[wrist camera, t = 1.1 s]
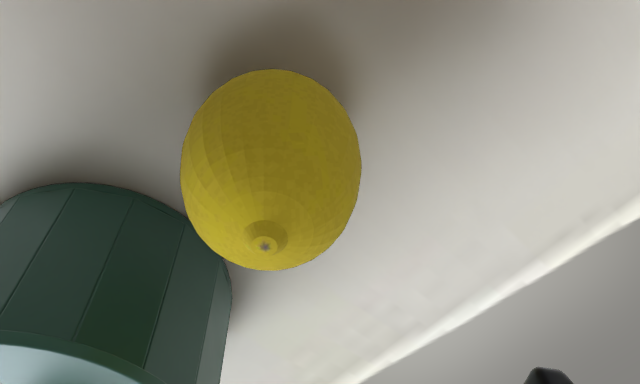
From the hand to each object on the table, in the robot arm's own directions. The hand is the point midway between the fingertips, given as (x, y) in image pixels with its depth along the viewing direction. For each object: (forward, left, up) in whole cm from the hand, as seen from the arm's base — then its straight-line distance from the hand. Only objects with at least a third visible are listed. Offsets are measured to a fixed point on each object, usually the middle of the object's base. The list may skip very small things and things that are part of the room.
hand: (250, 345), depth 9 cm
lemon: (0, -2, -13) cm, 14 cm away
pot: (-5, -13, -13) cm, 19 cm away
